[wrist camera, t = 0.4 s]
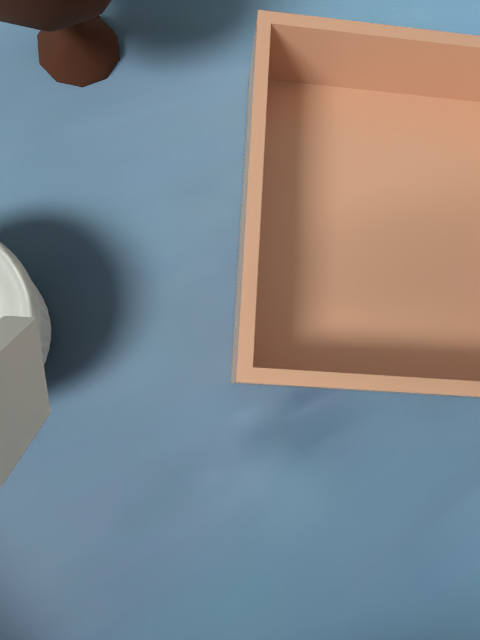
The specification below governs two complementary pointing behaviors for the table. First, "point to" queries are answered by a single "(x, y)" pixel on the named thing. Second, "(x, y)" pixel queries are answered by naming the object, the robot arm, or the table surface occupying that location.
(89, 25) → the ice cream bowl
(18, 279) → the ramekin
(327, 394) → the table surface
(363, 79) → the orange square tray
